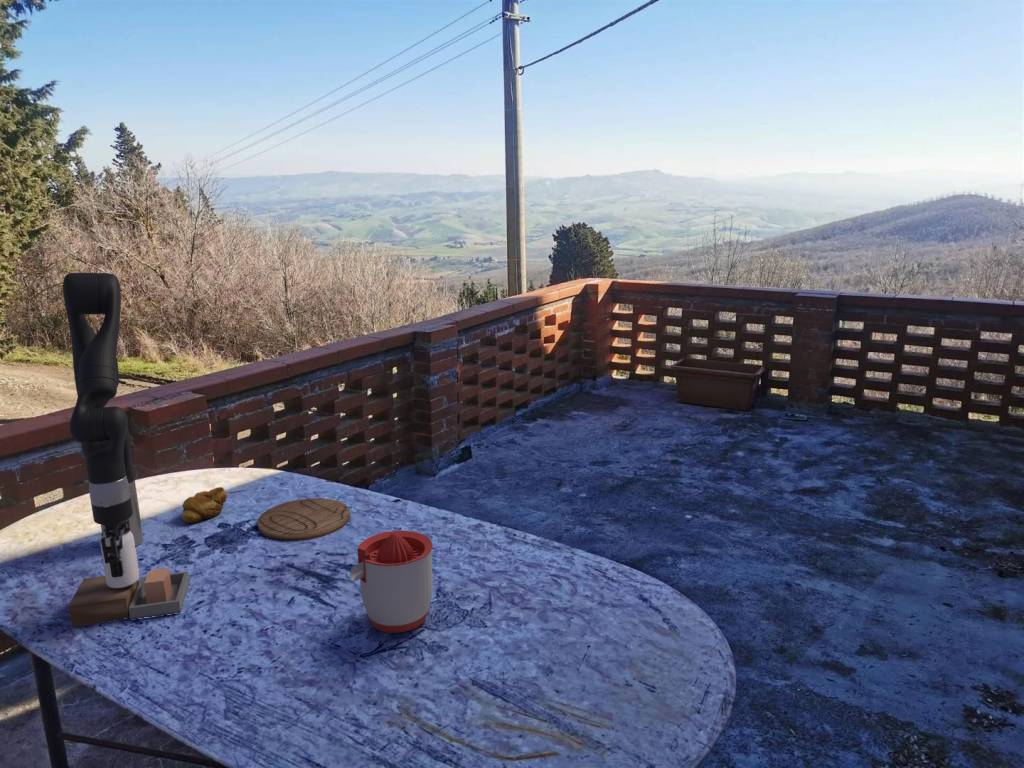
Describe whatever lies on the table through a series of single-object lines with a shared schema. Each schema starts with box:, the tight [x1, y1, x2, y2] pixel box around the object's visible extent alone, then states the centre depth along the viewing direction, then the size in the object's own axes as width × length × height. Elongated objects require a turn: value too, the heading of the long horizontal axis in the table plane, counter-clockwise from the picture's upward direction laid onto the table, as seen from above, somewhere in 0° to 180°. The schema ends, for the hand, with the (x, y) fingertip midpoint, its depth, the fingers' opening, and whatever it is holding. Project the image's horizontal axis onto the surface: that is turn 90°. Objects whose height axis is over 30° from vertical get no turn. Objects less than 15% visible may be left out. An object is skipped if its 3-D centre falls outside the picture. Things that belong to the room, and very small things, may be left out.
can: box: [99, 527, 140, 589], centre depth 160 cm, size 6×6×12 cm
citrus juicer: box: [349, 530, 434, 634], centre depth 154 cm, size 16×17×20 cm
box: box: [129, 570, 191, 620], centre depth 165 cm, size 14×10×3 cm
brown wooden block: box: [67, 575, 140, 628], centre depth 161 cm, size 12×11×5 cm
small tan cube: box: [144, 567, 172, 604], centre depth 164 cm, size 6×6×4 cm
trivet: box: [257, 497, 351, 542], centre depth 206 cm, size 25×25×2 cm
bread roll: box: [181, 486, 227, 524], centre depth 209 cm, size 13×10×8 cm
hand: (121, 568), depth 161 cm, fingers closed on can, 6 cm apart
